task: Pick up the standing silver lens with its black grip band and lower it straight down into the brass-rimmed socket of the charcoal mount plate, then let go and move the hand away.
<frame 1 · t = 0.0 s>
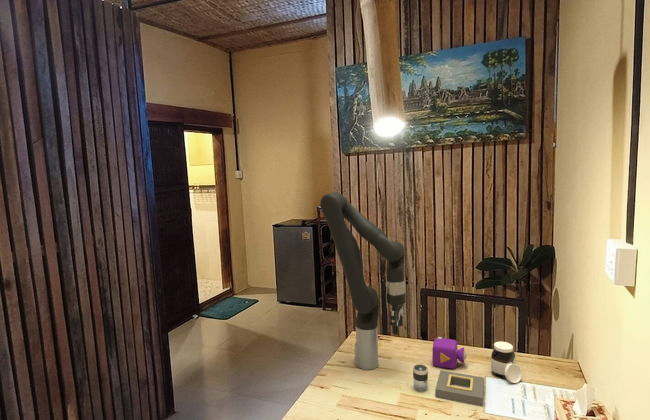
hand: (397, 329, 161), 17 cm above the table, tool pointing down, fingers open, 8 cm apart
lens: (420, 388, 149), on the table
spread jar: (506, 376, 156), on the table
toy camera: (449, 364, 166), on the table
mount plate: (460, 390, 147), on the table
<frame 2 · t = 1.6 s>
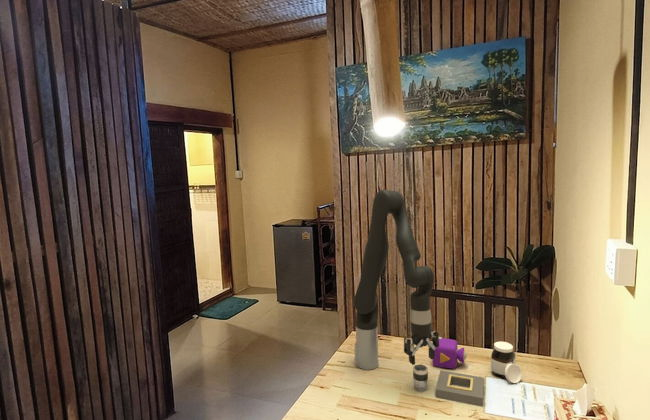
hand: (422, 361, 148), 10 cm above the table, tool pointing down, fingers open, 8 cm apart
nothing on the table moved.
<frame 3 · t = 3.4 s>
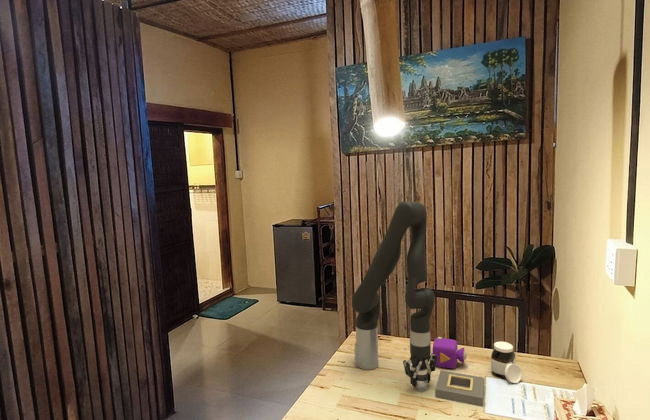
hand: (420, 383, 149), 2 cm above the table, tool pointing down, fingers closed on lens, 5 cm apart
lens: (420, 388, 149), on the table, touching gripper
everything else where it was.
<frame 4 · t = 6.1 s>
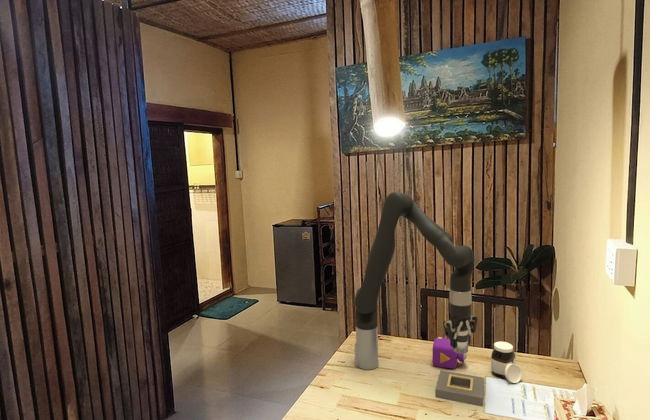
hand: (460, 345, 144), 18 cm above the table, tool pointing down, fingers closed on lens, 5 cm apart
lens: (460, 350, 145), point 16 cm above the table, touching gripper
everything else where it was.
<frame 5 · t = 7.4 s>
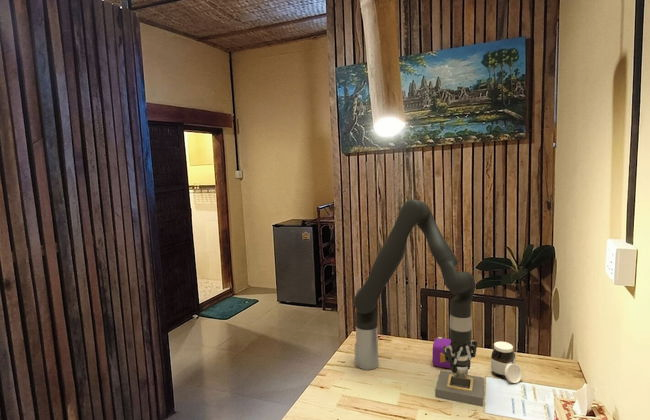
hand: (460, 370, 146), 8 cm above the table, tool pointing down, fingers closed on lens, 5 cm apart
lens: (460, 374, 146), point 6 cm above the table, touching gripper
everything else where it was.
when the fingers open (4 cm above the table, at t = 8.8 s): lens drops 2 cm, resting in mount plate.
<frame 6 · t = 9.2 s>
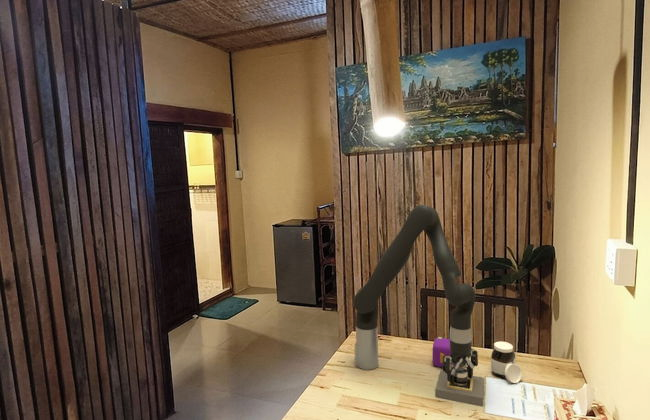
hand: (460, 379, 146), 4 cm above the table, tool pointing down, fingers open, 8 cm apart
lens: (459, 391, 146), resting in mount plate
everything else where it was.
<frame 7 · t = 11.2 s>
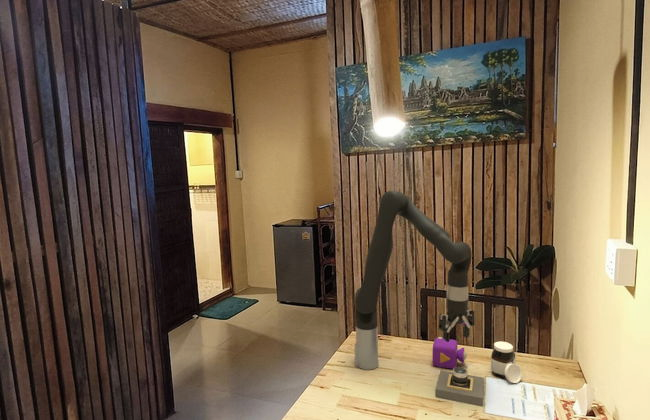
hand: (456, 339, 146), 19 cm above the table, tool pointing down, fingers open, 8 cm apart
nothing on the table moved.
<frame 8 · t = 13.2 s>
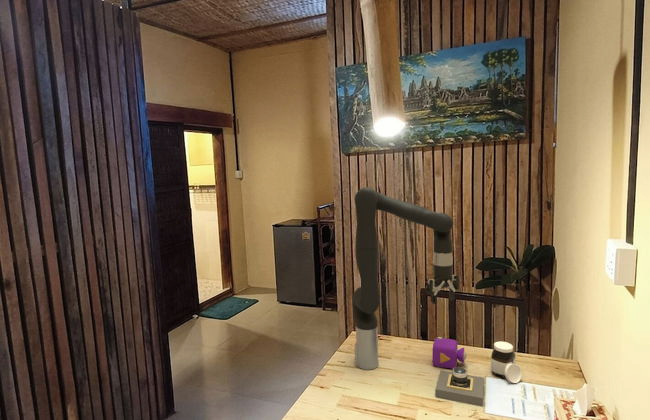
hand: (442, 301, 160), 28 cm above the table, tool pointing down, fingers open, 8 cm apart
nothing on the table moved.
at the end: lens 0.1 cm off-centre on the mount plate, point 0.0 cm above the mount plate's base; lens tilted 1°; the gripper is holding nothing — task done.
